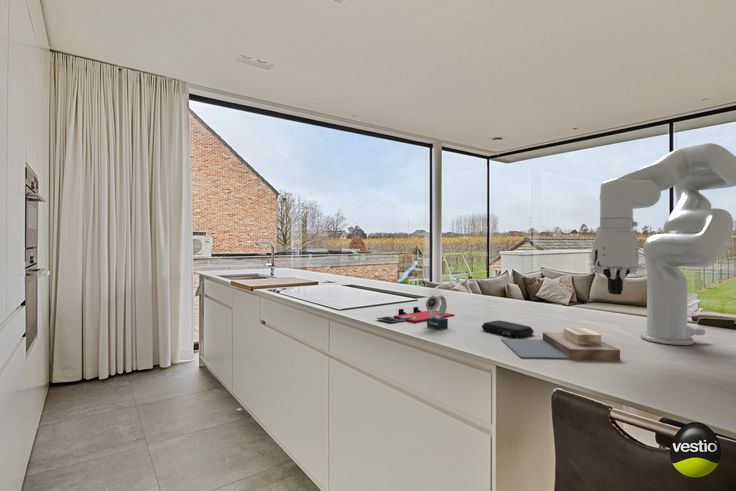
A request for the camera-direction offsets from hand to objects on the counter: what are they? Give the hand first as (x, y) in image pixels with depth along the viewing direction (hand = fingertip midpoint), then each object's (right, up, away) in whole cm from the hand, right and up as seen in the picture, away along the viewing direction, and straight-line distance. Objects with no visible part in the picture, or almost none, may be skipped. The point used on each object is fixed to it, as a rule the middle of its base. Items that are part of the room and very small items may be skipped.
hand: (615, 293), depth 105 cm
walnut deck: (-9, -15, +1) cm, 18 cm away
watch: (-43, -15, +29) cm, 54 cm away
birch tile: (-8, -13, +1) cm, 15 cm away
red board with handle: (-49, -16, +47) cm, 69 cm away
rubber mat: (-21, -15, +2) cm, 26 cm away
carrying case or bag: (-22, -16, +21) cm, 34 cm away
